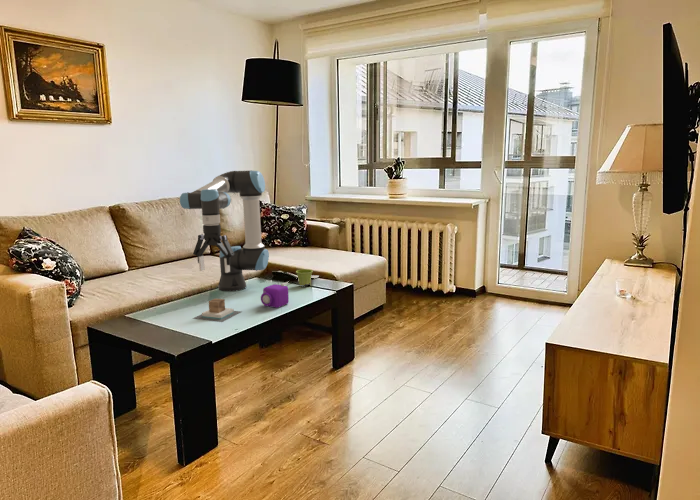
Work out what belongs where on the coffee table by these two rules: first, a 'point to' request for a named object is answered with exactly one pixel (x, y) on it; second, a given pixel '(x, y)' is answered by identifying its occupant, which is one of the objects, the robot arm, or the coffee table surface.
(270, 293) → the toy camera
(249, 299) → the coffee table surface
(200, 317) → the mat
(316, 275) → the paint knife
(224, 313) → the tile
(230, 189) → the robot arm
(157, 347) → the coffee table surface
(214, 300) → the block
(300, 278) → the plant pot
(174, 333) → the coffee table surface
